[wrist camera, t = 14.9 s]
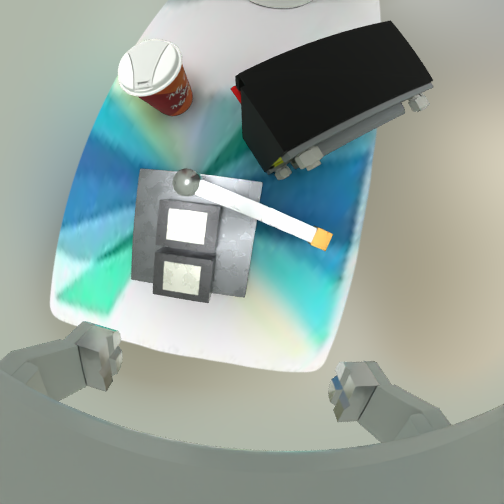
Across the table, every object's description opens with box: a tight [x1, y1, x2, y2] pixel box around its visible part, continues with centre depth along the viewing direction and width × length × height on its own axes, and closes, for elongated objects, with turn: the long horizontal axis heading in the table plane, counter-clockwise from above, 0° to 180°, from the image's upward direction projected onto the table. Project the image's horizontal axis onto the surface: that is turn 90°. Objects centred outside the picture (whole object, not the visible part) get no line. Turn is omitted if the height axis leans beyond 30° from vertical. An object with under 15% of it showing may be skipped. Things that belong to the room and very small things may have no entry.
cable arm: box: [172, 169, 333, 251], centre depth 32 cm, size 20×3×2 cm, turn 67°
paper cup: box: [118, 39, 193, 116], centre depth 29 cm, size 8×8×14 cm
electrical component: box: [231, 21, 433, 180], centre depth 27 cm, size 18×10×20 cm, turn 122°
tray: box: [131, 169, 262, 303], centre depth 37 cm, size 17×18×6 cm
